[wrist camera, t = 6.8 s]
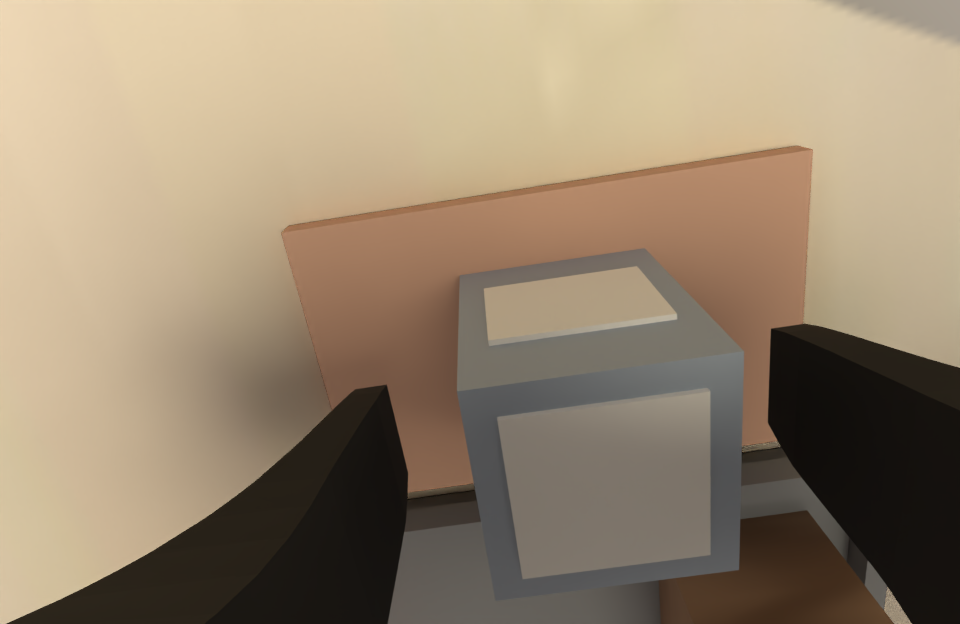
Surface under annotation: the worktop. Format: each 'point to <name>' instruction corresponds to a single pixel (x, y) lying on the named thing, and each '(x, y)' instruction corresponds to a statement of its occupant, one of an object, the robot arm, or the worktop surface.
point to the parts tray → (576, 614)
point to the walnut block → (775, 581)
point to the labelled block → (599, 425)
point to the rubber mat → (540, 239)
